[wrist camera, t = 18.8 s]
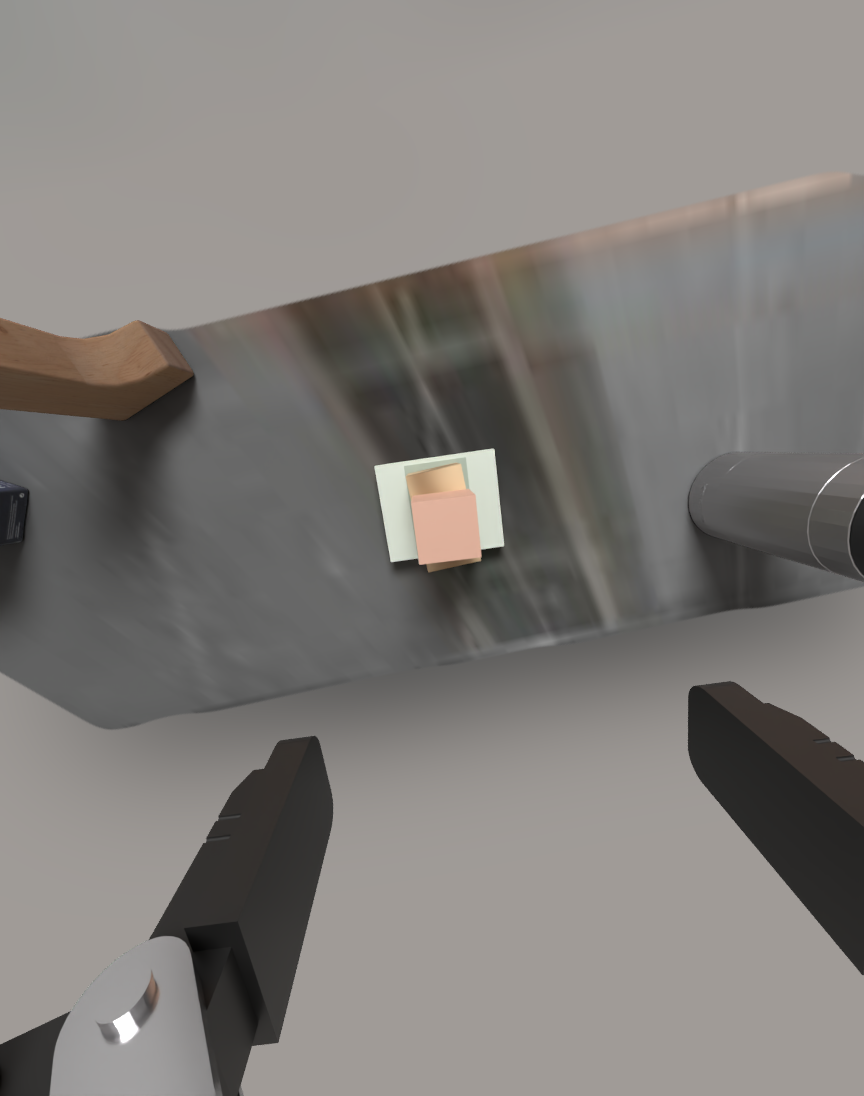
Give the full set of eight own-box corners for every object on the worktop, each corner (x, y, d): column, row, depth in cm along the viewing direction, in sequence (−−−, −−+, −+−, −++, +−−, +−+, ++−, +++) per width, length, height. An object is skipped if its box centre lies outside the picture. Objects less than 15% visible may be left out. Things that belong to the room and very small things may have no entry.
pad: (491, 448, 43) (494, 448, 41) (501, 547, 45) (504, 552, 43) (376, 465, 43) (374, 466, 41) (393, 562, 45) (391, 567, 43)
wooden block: (168, 331, 40) (-36, 238, 22) (197, 375, 40) (23, 318, 23) (95, 381, 40) (-157, 328, 23) (124, 422, 41) (-96, 402, 24)
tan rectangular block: (456, 462, 41) (461, 464, 36) (474, 548, 43) (480, 560, 38) (407, 473, 41) (405, 476, 36) (427, 558, 43) (428, 572, 38)
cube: (468, 488, 36) (475, 494, 32) (474, 543, 38) (481, 557, 33) (412, 495, 36) (410, 502, 32) (420, 549, 38) (419, 564, 33)
